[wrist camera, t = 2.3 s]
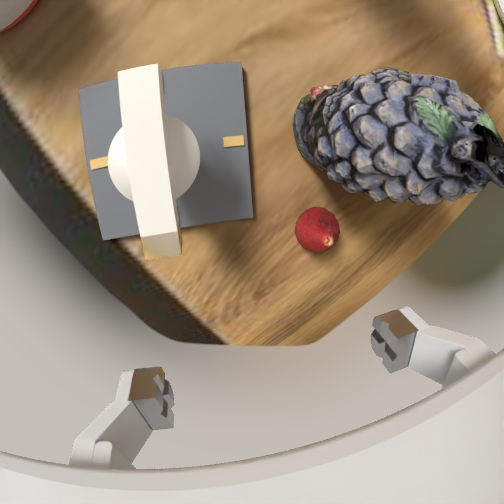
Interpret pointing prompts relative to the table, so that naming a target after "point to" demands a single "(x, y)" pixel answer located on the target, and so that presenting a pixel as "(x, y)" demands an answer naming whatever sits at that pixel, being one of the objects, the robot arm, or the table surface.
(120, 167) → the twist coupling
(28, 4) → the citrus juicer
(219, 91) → the lock base
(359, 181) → the pineapple fairy house
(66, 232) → the table surface
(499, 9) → the white plate
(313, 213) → the onion
